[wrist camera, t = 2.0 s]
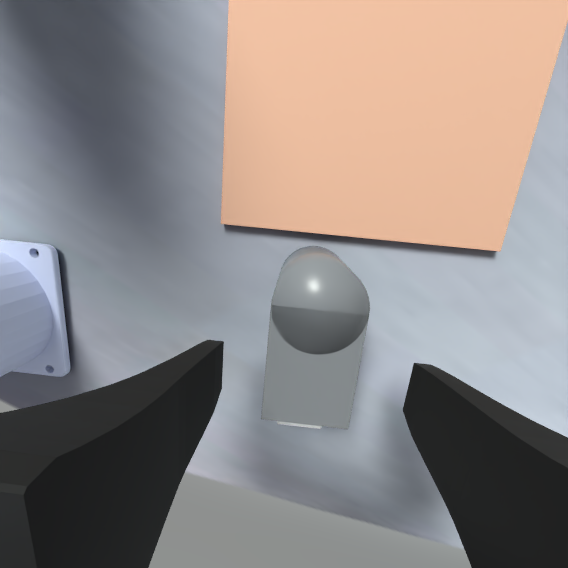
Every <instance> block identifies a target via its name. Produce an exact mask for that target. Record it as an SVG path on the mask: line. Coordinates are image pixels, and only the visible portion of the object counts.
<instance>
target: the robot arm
mask: <svg viewBox="0 0 568 568" xmlns="http://www.w3.org/2000/svg"><path fill="white" fill-rule="evenodd" d="M36 250H37V251H38V252H39V256H38V255H37V253H36ZM223 344H224V342H223V341H214V340H206V341H204V342H202V343H200V344H198V345H196V346H194V347H192V348H190V349H189V350H187V351H185V352H183V353H181V354H179V355H177V356H175V357H174V358H172V359H170V360H168V361H166V362H163V363H161V364H159V365H157V366H155V367H153V368H151V369H149V370H147V371H144V372H142V373H140V374H137V375H135V376H132V377H130V378H127V379H125V380H122V381H119V382H117V383H114V384H111V385H108V386H105V387H102V388H99V389H96V390H92V391H89V392H86V393H82V394H79V395H76V396H73V397H69V398H65V399H61V400H57V401H53V402H49V403H45V404H41V405H37V406H32V407H28V408H23V409H18V410H14V411H9V412H4V413H0V568H148V567H149V564H150V561H151V558H152V556H153V553H154V550H155V547H156V545H157V542H158V539H159V537H160V534H161V531H162V528H163V526H164V523H165V520H166V518H167V515H168V512H169V509H170V507H171V505H172V502H173V499H174V497H175V494H176V491H177V489H178V486H179V484H180V482H181V479H182V477H183V475H184V473H185V470H186V468H187V466H188V464H189V462H190V460H191V458H192V456H193V454H194V452H195V450H196V448H197V446H198V444H199V442H200V440H201V438H202V436H203V433H204V431H205V429H206V427H207V425H208V423H209V421H210V419H211V417H212V415H213V413H214V410H215V407H216V404H217V401H218V398H219V395H220V392H221V389H222V368H223ZM52 367H53V368H54V369H53V368H52ZM70 369H71V367H70V358H69V349H68V340H67V331H66V323H65V314H64V305H63V296H62V287H61V278H60V269H59V260H58V253H57V250H56V249H55V247H53V246H52V245H49V244H42V243H32V242H23V241H13V240H3V239H0V377H1V376H3V375H5V374H7V373H9V372H10V371H12V372H21V373H30V374H38V375H47V376H56V377H63V376H65V375H66V374H68V373H69V372H70ZM403 412H404V415H405V418H406V421H407V424H408V427H409V430H410V432H411V435H412V437H413V440H414V442H415V444H416V446H417V448H418V450H419V452H420V454H421V456H422V458H423V460H424V462H425V464H426V466H427V468H428V470H429V472H430V474H431V476H432V478H433V480H434V482H435V484H436V486H437V488H438V490H439V492H440V494H441V496H442V498H443V500H444V502H445V504H446V506H447V508H448V510H449V513H450V515H451V517H452V519H453V521H454V524H455V526H456V529H457V531H458V534H459V536H460V539H461V541H462V544H463V546H464V549H465V551H466V554H467V556H468V559H469V561H470V564H471V567H472V568H568V438H567V437H565V436H563V435H561V434H559V433H557V432H555V431H553V430H550V429H548V428H546V427H544V426H542V425H540V424H538V423H536V422H534V421H532V420H530V419H528V418H526V417H525V416H523V415H521V414H519V413H517V412H515V411H513V410H512V409H510V408H508V407H506V406H504V405H502V404H501V403H499V402H497V401H495V400H493V399H492V398H490V397H488V396H486V395H485V394H483V393H481V392H479V391H478V390H476V389H474V388H473V387H471V386H469V385H467V384H466V383H464V382H462V381H461V380H459V379H457V378H455V377H454V376H452V375H450V374H448V373H446V372H445V371H443V370H441V369H439V368H437V367H435V366H432V365H428V364H419V363H414V365H413V369H412V374H411V378H410V382H409V386H408V390H407V395H406V399H405V403H404V407H403Z"/></svg>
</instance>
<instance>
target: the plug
mask: <svg viewBox="0 0 568 568" xmlns="http://www.w3.org/2000/svg"><path fill="white" fill-rule="evenodd" d="M369 311H370V303H369V297H368V294H367V291H366V289H365V287H364V285H363V284H362V282H361V281H360V279H359V278H358V277H357V276H356V275H355V274H354V273H353V272H352V271H351V270H350V269H349V268H348V267H347V266H346V265H345V264H344V263H343V262H342V261H341V260H340V259H339V257H338V256H337V255H335V254H334V253H333V252H331V251H330V250H328V249H326V248H323V247H318V246H308V247H304V248H301V249H299V250H297V251H295V252H293V253H292V254H291V255H290V256H289V257H288V258H287V259H286V260H285V262H284V264H283V266H282V268H281V271H280V275H279V278H278V281H277V284H276V288H275V291H274V294H273V297H272V302H271V311H270V323H269V334H268V346H267V357H266V369H265V380H264V392H263V403H262V415H261V419H263V420H272V421H278V422H277V424H282V425H290V426H299V427H307V428H316V429H321V426H323V427H332V428H340V429H348V427H349V422H350V416H351V411H352V405H353V400H354V395H355V389H356V384H357V378H358V373H359V367H360V362H361V356H362V351H363V345H364V340H365V334H366V329H367V324H368V318H369Z"/></svg>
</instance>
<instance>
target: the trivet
mask: <svg viewBox="0 0 568 568" xmlns="http://www.w3.org/2000/svg"><path fill="white" fill-rule="evenodd" d="M567 22H568V0H229V12H228V40H227V68H226V96H225V123H224V151H223V179H222V207H221V224H228V225H238V226H248V227H258V228H268V229H278V230H289V231H299V232H309V233H319V234H329V235H339V236H349V237H359V238H369V239H380V240H390V241H400V242H410V243H420V244H430V245H440V246H450V247H460V248H471V249H481V250H491V251H501V247H502V244H503V241H504V237H505V234H506V230H507V227H508V223H509V220H510V217H511V213H512V210H513V206H514V203H515V200H516V196H517V193H518V189H519V186H520V182H521V179H522V176H523V172H524V169H525V165H526V162H527V158H528V155H529V152H530V148H531V145H532V141H533V138H534V135H535V131H536V128H537V124H538V121H539V117H540V114H541V111H542V107H543V104H544V100H545V97H546V93H547V90H548V87H549V83H550V80H551V76H552V73H553V69H554V66H555V63H556V59H557V56H558V52H559V49H560V46H561V42H562V39H563V35H564V32H565V28H566V25H567Z"/></svg>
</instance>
